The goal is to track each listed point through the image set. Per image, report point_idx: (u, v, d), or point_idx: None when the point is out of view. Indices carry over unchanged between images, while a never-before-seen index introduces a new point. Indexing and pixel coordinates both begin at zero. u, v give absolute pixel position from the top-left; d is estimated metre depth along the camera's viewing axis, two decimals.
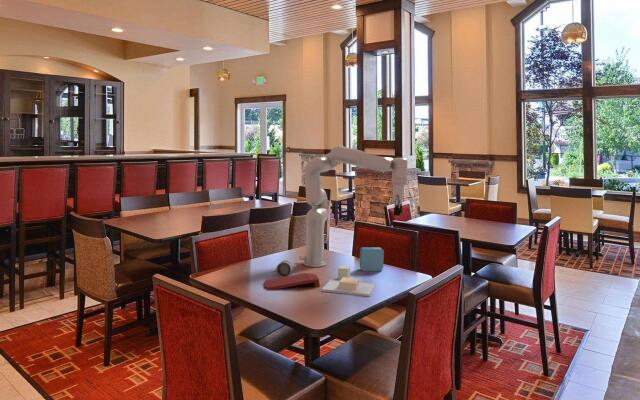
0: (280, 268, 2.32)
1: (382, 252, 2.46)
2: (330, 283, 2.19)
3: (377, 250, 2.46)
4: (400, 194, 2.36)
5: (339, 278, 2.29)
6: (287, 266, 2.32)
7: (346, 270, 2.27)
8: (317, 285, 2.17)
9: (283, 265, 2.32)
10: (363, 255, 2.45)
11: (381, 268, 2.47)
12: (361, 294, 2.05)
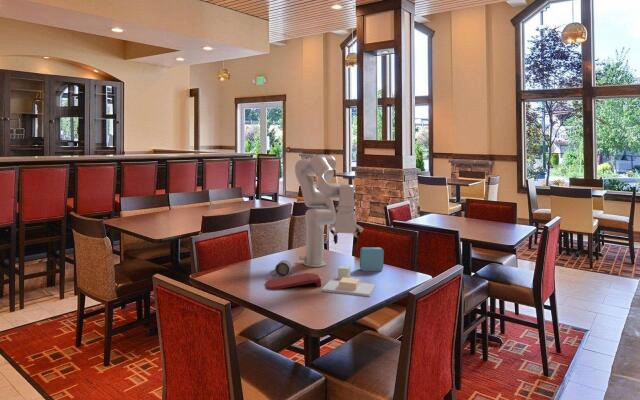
0: (279, 268, 2.32)
1: (382, 252, 2.46)
2: (330, 283, 2.19)
3: (377, 250, 2.46)
4: None
5: (339, 278, 2.29)
6: (286, 266, 2.32)
7: (346, 270, 2.27)
8: (319, 285, 2.17)
9: (282, 265, 2.32)
10: (363, 255, 2.45)
11: (381, 268, 2.47)
12: (361, 294, 2.05)
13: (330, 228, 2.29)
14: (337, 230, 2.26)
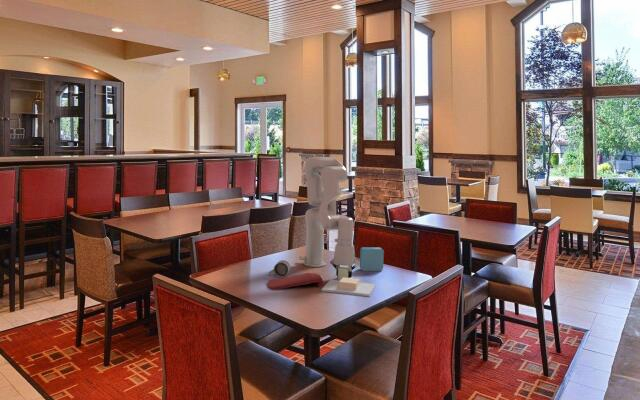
0: (277, 268, 2.32)
1: (382, 252, 2.46)
2: (330, 283, 2.19)
3: (377, 250, 2.46)
4: (354, 254, 2.29)
5: (339, 278, 2.29)
6: (284, 266, 2.32)
7: (346, 270, 2.27)
8: (320, 285, 2.17)
9: (280, 265, 2.32)
10: (363, 255, 2.45)
11: (381, 268, 2.47)
12: (361, 294, 2.05)
13: (332, 263, 2.31)
14: (336, 262, 2.28)
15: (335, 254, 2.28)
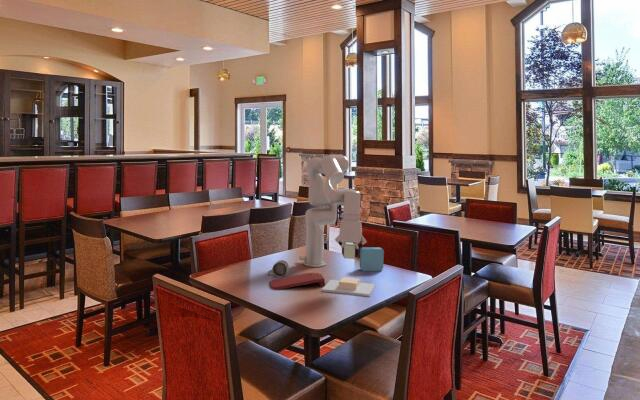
0: (276, 268, 2.32)
1: (382, 252, 2.46)
2: (330, 283, 2.19)
3: (377, 250, 2.46)
4: None
5: (345, 256, 2.11)
6: (283, 266, 2.32)
7: (353, 247, 2.10)
8: (322, 285, 2.18)
9: (279, 265, 2.32)
10: (363, 255, 2.45)
11: (381, 268, 2.47)
12: (361, 294, 2.05)
13: (337, 240, 2.13)
14: (341, 239, 2.11)
15: (341, 230, 2.10)
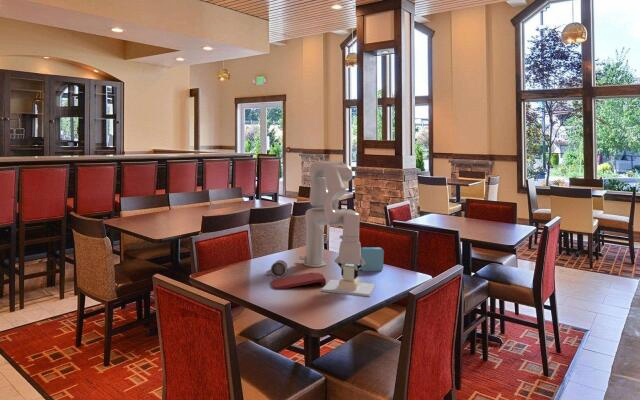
0: (275, 268, 2.32)
1: (382, 252, 2.46)
2: (330, 283, 2.19)
3: (377, 250, 2.46)
4: None
5: (344, 277, 2.12)
6: (282, 266, 2.32)
7: (352, 269, 2.11)
8: (324, 284, 2.18)
9: (278, 265, 2.32)
10: (363, 255, 2.45)
11: (381, 268, 2.47)
12: (361, 294, 2.05)
13: (337, 261, 2.15)
14: (341, 261, 2.12)
15: (340, 252, 2.12)
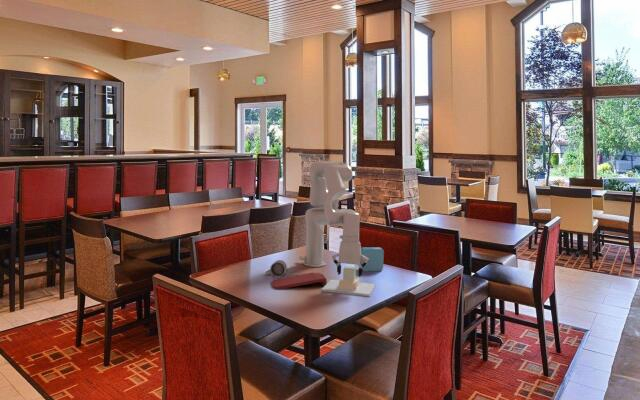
0: (274, 268, 2.32)
1: (382, 252, 2.46)
2: (330, 283, 2.19)
3: (377, 250, 2.46)
4: None
5: (344, 279, 2.12)
6: (281, 266, 2.32)
7: (352, 271, 2.11)
8: (324, 284, 2.18)
9: (277, 265, 2.32)
10: (363, 255, 2.45)
11: (381, 268, 2.47)
12: (361, 294, 2.05)
13: (333, 258, 2.15)
14: (341, 260, 2.12)
15: (340, 252, 2.11)
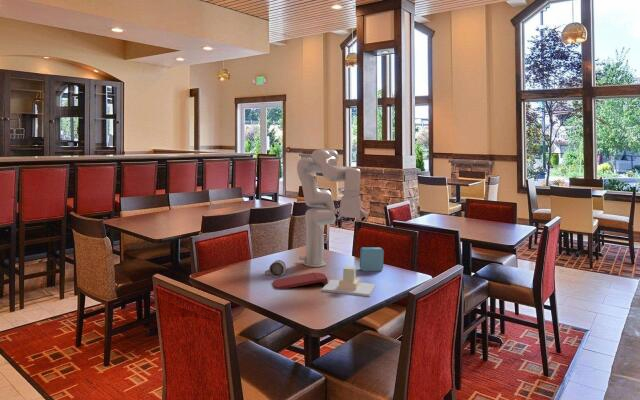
0: (273, 268, 2.33)
1: (382, 252, 2.46)
2: (330, 283, 2.19)
3: (377, 250, 2.46)
4: None
5: (344, 279, 2.12)
6: (280, 266, 2.32)
7: (352, 271, 2.11)
8: (325, 284, 2.18)
9: (276, 265, 2.32)
10: (363, 255, 2.45)
11: (381, 268, 2.47)
12: (361, 294, 2.05)
13: (334, 212, 2.26)
14: (341, 214, 2.23)
15: (341, 206, 2.22)
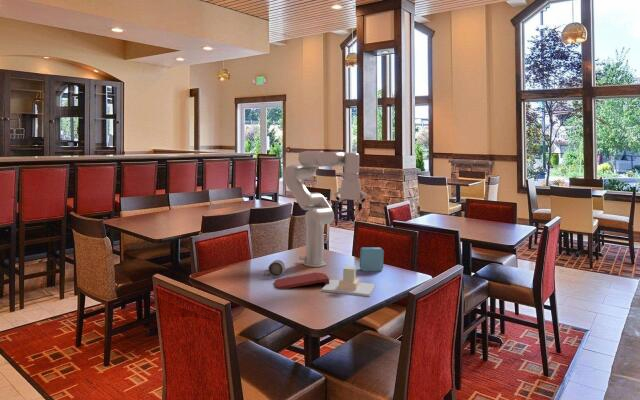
0: (272, 268, 2.33)
1: (382, 252, 2.46)
2: (330, 283, 2.19)
3: (377, 250, 2.46)
4: None
5: (344, 279, 2.12)
6: (279, 266, 2.32)
7: (352, 271, 2.11)
8: None
9: (275, 265, 2.32)
10: (363, 255, 2.45)
11: (381, 268, 2.47)
12: (361, 294, 2.05)
13: (335, 195, 2.37)
14: (342, 196, 2.34)
15: (342, 188, 2.34)
